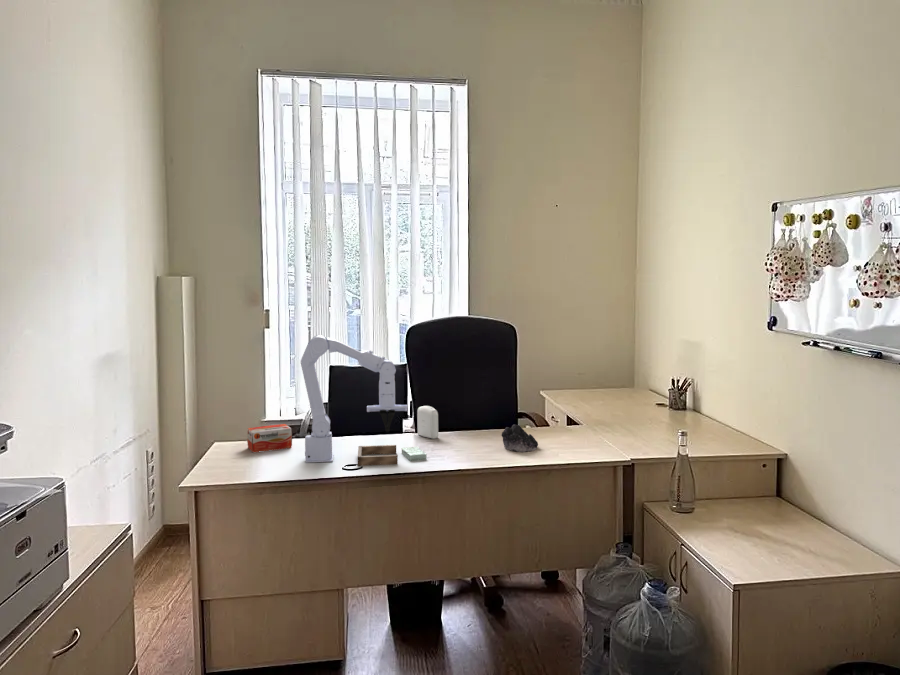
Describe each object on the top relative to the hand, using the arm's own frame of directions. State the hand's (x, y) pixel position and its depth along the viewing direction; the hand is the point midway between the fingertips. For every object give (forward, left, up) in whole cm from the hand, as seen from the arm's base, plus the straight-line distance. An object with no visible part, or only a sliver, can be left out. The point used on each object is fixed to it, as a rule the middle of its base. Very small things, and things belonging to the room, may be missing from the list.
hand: (387, 431), depth 251 cm
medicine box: (-44, +18, -10) cm, 49 cm away
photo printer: (+17, +29, -10) cm, 35 cm away
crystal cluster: (+50, +6, -10) cm, 51 cm away
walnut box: (-3, -3, -9) cm, 10 cm away
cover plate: (+9, -1, -10) cm, 14 cm away
